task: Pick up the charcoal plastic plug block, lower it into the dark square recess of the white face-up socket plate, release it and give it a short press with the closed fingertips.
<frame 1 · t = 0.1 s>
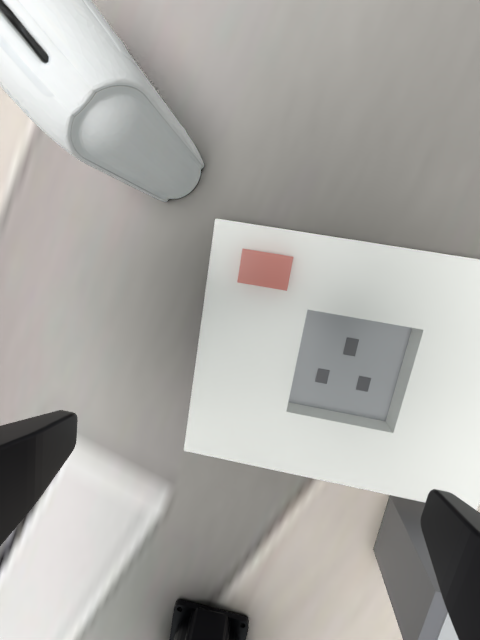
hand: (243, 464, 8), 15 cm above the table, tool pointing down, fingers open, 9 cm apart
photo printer: (143, 129, 21), on the table
plug: (414, 529, 24), on the table
socket plate: (344, 362, 22), on the table
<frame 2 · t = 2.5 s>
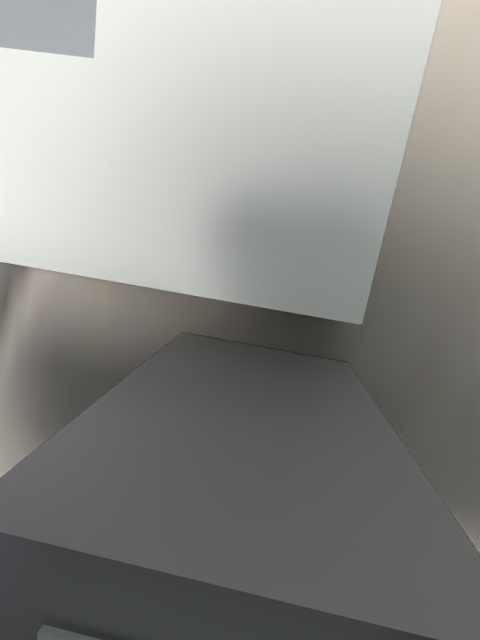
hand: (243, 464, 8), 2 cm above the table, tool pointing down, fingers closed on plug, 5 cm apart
plug: (249, 422, 10), on the table, touching gripper
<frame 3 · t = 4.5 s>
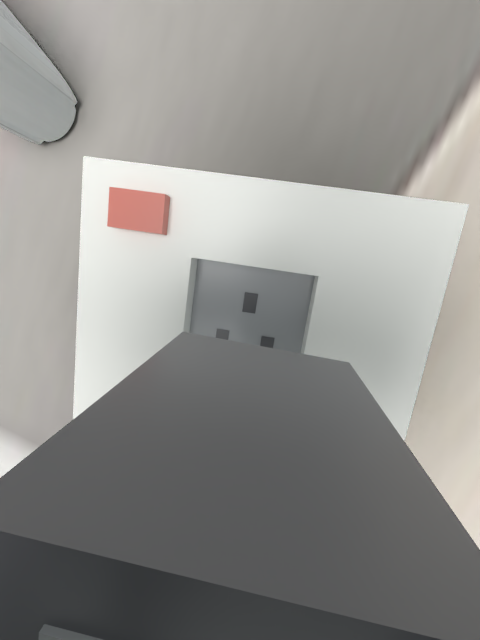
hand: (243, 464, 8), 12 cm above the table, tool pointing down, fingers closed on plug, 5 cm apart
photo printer: (13, 65, 19), on the table
plug: (250, 422, 10), point 10 cm above the table, touching gripper
socket plate: (247, 322, 20), on the table
when the fingers open (4 cm above the table, at t = 6.6 s): plug drops 1 cm, resting on socket plate.
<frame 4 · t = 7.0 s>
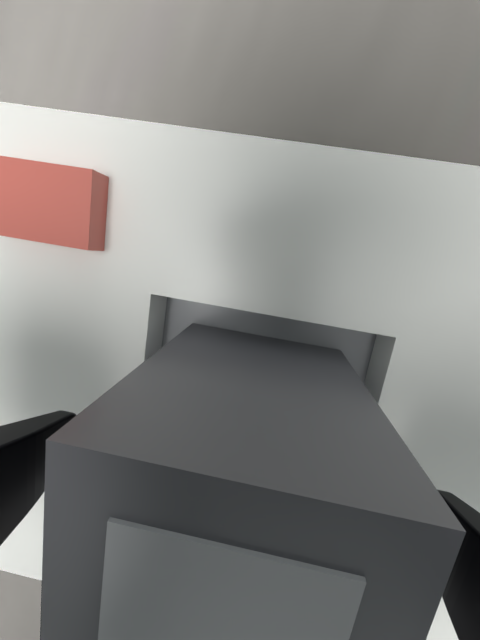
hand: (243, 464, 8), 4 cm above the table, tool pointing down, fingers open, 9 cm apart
plug: (252, 404, 11), point 1 cm above the table, touching socket plate
socket plate: (254, 397, 12), on the table
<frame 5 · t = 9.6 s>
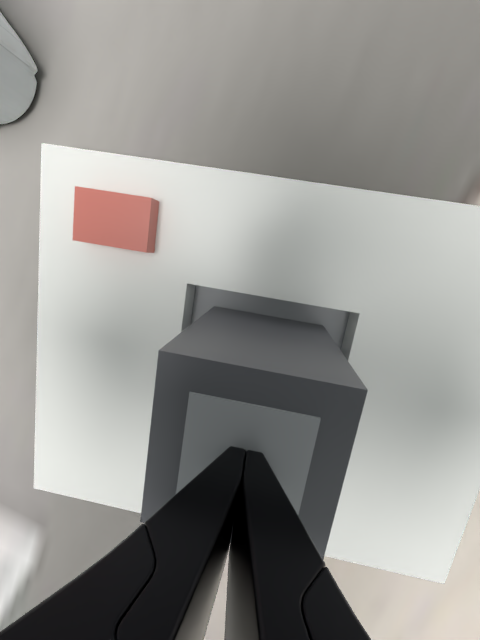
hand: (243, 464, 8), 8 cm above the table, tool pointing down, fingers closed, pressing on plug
plug: (258, 367, 15), point 1 cm above the table, touching gripper, socket plate
socket plate: (259, 363, 15), on the table
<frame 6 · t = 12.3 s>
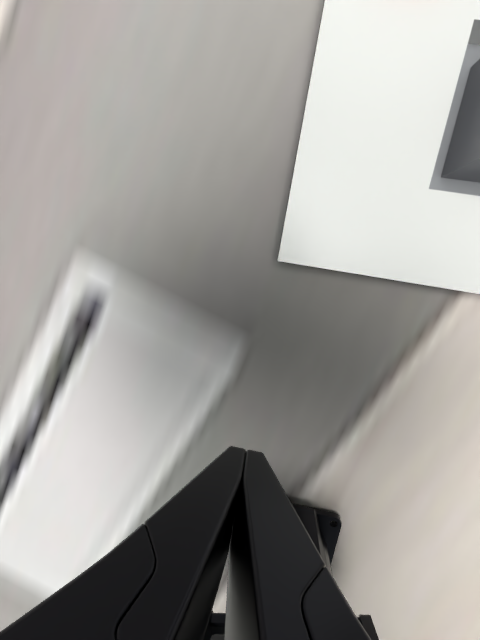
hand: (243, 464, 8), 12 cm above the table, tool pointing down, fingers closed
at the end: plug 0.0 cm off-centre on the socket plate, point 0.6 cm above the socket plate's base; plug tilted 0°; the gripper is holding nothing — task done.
